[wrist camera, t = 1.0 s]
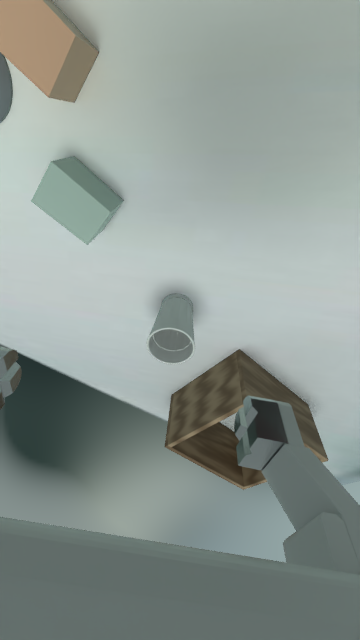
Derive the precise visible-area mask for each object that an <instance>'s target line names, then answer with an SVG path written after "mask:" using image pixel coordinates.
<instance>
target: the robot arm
mask: <svg viewBox="0 0 360 640" xmlns="http://www.w3.org/2000/svg"><path fill="white" fill-rule="evenodd" d="M17 359H18V354H17V351H16V350H13V349H8V348H4V347H0V410H1V408H2V407H3V406H4V404H5V402H4V397H6V396H8V395H10V394H12V393H13V392H14V390H15V389H16V388H17V386H18V384H19V381H20V378H21V367H20V366H19V365H18V364H17V363H16V362H15V361H16V360H17ZM243 405H244V407H242V408H240V409H239V410H238V412H237V414H236V417H235V424H234V430H235V435H236V437H237V438H238V440H239V443H238V445H237V446H236V450H237V459H238V466H242V467H247V468H252V469H256V470H261V471H262V474H263V475H264V477H265V479H266V480H267V482H268V484H269V486H270V487H271V489H272V490H273V492H274V494H275V495H276V497H277V499H278V501H279V502H280V504H281V506H282V508H283V509H284V511H285V513H286V514H287V516H288V518H289V519H290V521H291V523H292V524H293V526H294V528H295V530H296V532H295V533H294V534H292V535H291V536H289V537H288V538H287V539H286V540H285V541H284V542H283V546H284V552H285V557H286V563H284V562H279V561H273V560H266V559H260V558H254V557H248V556H241V555H235V554H229V553H223V552H216V551H210V550H204V549H198V548H192V547H185V546H179V545H173V544H167V543H161V542H155V541H148V540H142V539H135V538H129V537H123V536H117V535H111V534H105V533H99V532H92V531H86V530H80V529H74V528H68V527H61V526H55V525H48V524H42V523H36V522H30V521H24V520H17V519H12V518H5V517H0V640H360V505H359V504H358V503H357V502H356V501H355V500H354V498H353V497H352V496H351V495H350V494H349V493H348V492H347V491H346V489H345V488H344V487H343V486H342V485H341V484H340V483H339V481H338V480H337V479H336V478H335V477H334V476H333V475H332V474H331V472H330V471H329V470H328V469H327V468H326V467H325V466H324V465H323V463H322V462H321V461H320V460H319V459H318V458H317V457H316V455H315V454H314V453H313V452H312V451H311V450H310V449H309V448H306V447H305V446H304V443H303V440H302V437H301V434H300V431H299V428H298V425H297V422H296V419H295V416H294V413H293V409H292V406H291V405H290V404H289V403H285V402H280V401H274V400H271V399H265V398H260V397H254V396H249V395H248V396H246V397H245V399H244V401H243Z"/></svg>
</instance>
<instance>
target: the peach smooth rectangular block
mask: <svg viewBox="0 0 360 640" xmlns="http://www.w3.org/2000/svg"><path fill="white" fill-rule="evenodd" d="M0 52H1V53H2V54H3V55H4V56H5V57H6V58H7V59H8V60H9V61H10V62H11V63H12V64H14V65H15V66H16V67H17V68H18V69H19V70H20V71H21V72H22V73H23V74H24V75H25V76H26V77H27V78H28V79H29V80H30V81H32V82H33V83H34V84H35V85H36V86H37V87H38V88H39V89H40V90H41V91H42V92H43V93H44V94H45V95H46V96H47V97H49V98H54V99H59V100H64V101H69V102H75V100H76V98H77V96H78V94H79V92H80V90H81V88H82V86H83V84H84V82H85V80H86V78H87V76H88V74H89V72H90V70H91V68H92V66H93V63H94V61H95V59H96V57H97V55H98V53H99V52H98V51H97V50H96V48H95V47H94V46H93V45H92V44H91V43H90V42H89V41H88V40H87V39H86V38H85V37H84V35H83V34H82V33H81V32H80V31H79V30H78V29H77V28H76V27H75V26H74V25H73V24H72V22H71V21H70V20H69V19H68V18H67V17H66V16H65V15H64V14H63V13H62V12H61V10H60V9H59V8H58V7H57V6H56V5H55V4H54V3H53V2H52V1H51V0H0Z"/></svg>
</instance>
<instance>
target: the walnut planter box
mask: <svg viewBox="0 0 360 640" xmlns="http://www.w3.org/2000/svg"><path fill="white" fill-rule="evenodd" d="M248 395H249V396H254V397H260V398H265V399H271V400H274V401H280V402H285V403H289V404H290V405H291V406H292V409H293V413H294V416H295V419H296V422H297V425H298V428H299V431H300V434H301V437H302V440H303V443H304V446H305V447H306V448H309V449H310V450H311V451H312V452H313V453H314V454H315V455H316V457H317V458H318V459H319V460H320V461H321V462H325V461H328V458H327V455H326V452H325V450H324V447H323V444H322V441H321V439H320V436H319V433H318V431H317V428H316V425H315V422H314V420H313V417H312V414H311V412H310V409H309V406H308V404H307V403H305V402H304V401H303V400H302V399H300V398H299V397H298V396H297V395H295V394H294V393H293V392H292V391H291V390H289V389H288V388H287V387H286V386H284V385H283V384H282V383H281V382H279V381H278V380H277V379H276V378H274V377H273V376H272V375H271V374H269V373H268V372H267V371H266V370H265V369H263V368H262V367H261V366H260V365H258V364H257V363H256V362H255V361H253V360H252V359H251V358H250V357H248V356H247V355H246V354H245V353H243V352H242V351H241V350H240V349H239V350H237V351H236V352H235V353H233V354H232V355H230V356H229V357H227V358H226V359H224V360H223V361H221V362H220V363H218V364H217V365H215V366H214V367H212V368H211V369H209V370H208V371H206V372H205V373H203V374H202V375H201V376H199V377H198V378H196V379H195V380H193V381H192V382H190V383H189V384H187V385H186V386H184V387H183V388H181V389H180V390H178V391H177V392H175V393H174V394H172V396H171V403H170V411H169V418H168V426H167V434H166V441H165V447H166V448H168V449H170V450H171V451H173V452H175V453H177V454H179V455H181V456H182V457H184V458H186V459H188V460H190V461H192V462H193V463H195V464H197V465H199V466H201V467H203V468H205V469H206V470H208V471H210V472H212V473H214V474H216V475H218V476H219V477H221V478H223V479H225V480H227V481H228V482H230V483H232V484H234V485H236V486H238V487H240V488H241V489H246V488H250V487H253V486H255V485H258V484H261V483H264V482H267V480H266V479H265V477H264V475H263V474H262V471H261V470H256V469H252V468H247V467H242V466H238V459H237V450H236V446H237V445H238V443H239V440H238V438H237V437H236V435H235V432H233V431H232V430H230V429H229V428H227V427H226V426H224V425H222V424H221V423H219V421H221V420H223V419H225V418H227V417H229V416H231V415H233V414H235V413H236V412H238V410H239V409H240V408H242V407H244V405H243V401H244V399H245V397H246V396H248Z"/></svg>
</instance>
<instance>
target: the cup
mask: <svg viewBox="0 0 360 640" xmlns="http://www.w3.org/2000/svg"><path fill="white" fill-rule="evenodd" d="M147 349H148V351H149V353H150V354H151V356H152V357H153V358H155V359H156V360H158V361H160V362H162V363H166V364H180V363H183V362H185V361H187V360H189V359H190V358H191V357H192V355H193V354H194V351H195V343H194V331H193V305H192V302H191V301H190V299H189V298H187V297H186V296H184V295H181V294H171V295H169V296H167V297H166V298H165V299H164V300H163V302H162V305H161V308H160V311H159V313H158V316H157V318H156V321H155V323H154V326H153V328H152V330H151V332H150V335H149V337H148V339H147Z"/></svg>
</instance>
